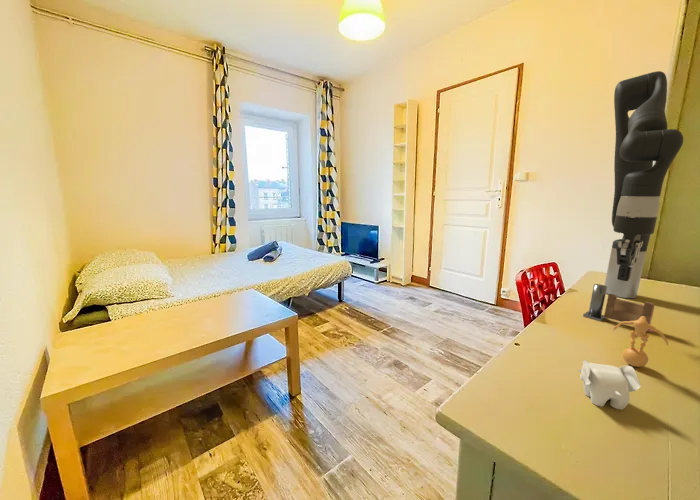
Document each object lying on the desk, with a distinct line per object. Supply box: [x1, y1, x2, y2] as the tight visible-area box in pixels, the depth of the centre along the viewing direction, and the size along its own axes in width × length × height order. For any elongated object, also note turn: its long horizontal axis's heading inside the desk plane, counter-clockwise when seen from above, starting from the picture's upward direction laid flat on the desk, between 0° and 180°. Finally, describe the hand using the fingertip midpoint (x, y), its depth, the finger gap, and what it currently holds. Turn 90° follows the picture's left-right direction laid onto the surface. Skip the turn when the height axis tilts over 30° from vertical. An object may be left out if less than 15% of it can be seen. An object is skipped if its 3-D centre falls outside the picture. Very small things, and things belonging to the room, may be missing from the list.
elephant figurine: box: [578, 359, 642, 411], centre depth 53 cm, size 8×10×7 cm
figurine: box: [612, 316, 669, 368], centre depth 62 cm, size 8×6×12 cm
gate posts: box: [583, 283, 656, 334], centre depth 84 cm, size 6×15×10 cm, turn 36°
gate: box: [603, 294, 655, 326], centre depth 82 cm, size 9×2×7 cm, turn 37°
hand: (623, 279), depth 77 cm, fingers closed
